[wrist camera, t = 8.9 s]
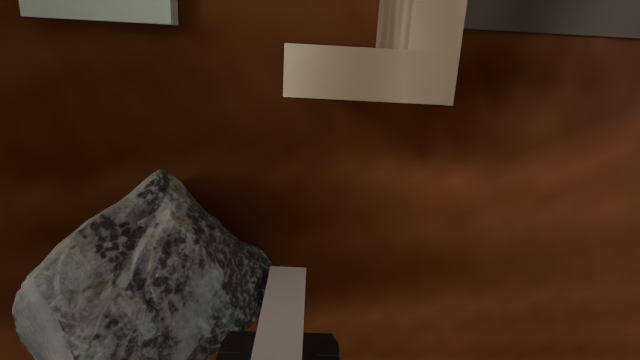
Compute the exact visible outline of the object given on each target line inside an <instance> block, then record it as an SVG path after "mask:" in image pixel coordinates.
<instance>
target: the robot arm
mask: <svg viewBox="0 0 640 360" xmlns="http://www.w3.org/2000/svg"><path fill="white" fill-rule="evenodd" d="M305 285H306V268H303V267H279V266H270V270H269V275H268V279H267V284H266V289H265V294H264V298H263V303H262V308H261V313H260V317H259V322H258V327H257V332H247V331H231V332H230V333H229V334H228V335H227V336H226V337H225V338H224V339H223V340H222V342H221V345H220V348H219V353H218V355H217V358H216V360H339V346H338V342H337V341H336V339H335V338H334V337H333V335H332V334H324V333H303V327H304V306H305Z"/></svg>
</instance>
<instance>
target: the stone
mask: <svg viewBox="0 0 640 360" xmlns="http://www.w3.org/2000/svg"><path fill="white" fill-rule="evenodd" d="M270 266H276V265H275V264H273V263H272V262H271V261H270V260H269V259H268V257H267V256H266V254H265V253H264V252H263V251H262V250H260V249H259V248H257V247H255V246H253V245H251V244H248V243H244V242H242V241H241V240H239V239H238V238H237V237H235V236H234V235H232V234H231V233H230V232H229V231H228V230H227V229H226V228H224V227H223V226H222V225H221V223H220V222H219V220H218V219H216V218H214V217H213V216H211V215H210V214H209V213H208V212H207V211H206V210H205V209H204V208H203V207H202V206H201V205H200V204H198V203H197V202H196V200H195V199H194V198H193V197H192V195H191V194H190V193H189V192H188V190H187V189H186V188H185V186H184V185H183V184H182V183H181V182H180V181H179V180H178V179H177V178H175V177H174V176H173V175H171V174H169V173H168V172H166V171H165V170H163V169H159V170H157V171H156V172H154V173H153V174H151V175H149V177H147V178H146V179H145V180H144V181H143V182H142V183H140V184H139V185H138V186H137V187H136V188H135V189H134V190H133V191H132V192H131V193H129V194H128V195H127V196H125V197H124V198H122V199H121V200H120V201H118V202H117V203H116V204H114V205H112V206H110V207H108V208H107V209H105V210H103V211H102V212H100V213H99V214H97V215H95V216H94V217H92V218H90V219H89V220H87V221H86V222H85V223H83V224H82V225H81V226H80V227H79V228H78V229H77V230H75V231H74V232H73V233H72V234H70V235H69V236H68V237H67V238H65V239H64V240H63V241H61V242H60V243H59V244H58V245H57V246H56V247H55V248H54V249H53V250H52V251H51V252H50V253H49V255H48V256H47V257H46V258H45V259H44V260H43V262H42V263H41V264H40V265H39V266H37V267H36V268H35V269H34V270H33V271H32V272H31V273H30V274H29V275H28V276H27V277H26V280H25V281H24V282H23V283H22V284H21V289H20V290H19V291H17V294H16V297H15V301H14V304H13V308H12V315H13V318H14V321H15V328H16V331H17V334H18V336H19V338H20V340H21V343H22V344H23V346H24V347H25V348H26V350H27V351H28V352H29V353H30V354H31V355H32V357H33V358H34V359H35V360H205V359H207V358H208V357H210V356H212V355H213V354H214V353H215V352H216V351H217V350H218V349H219V348H220V345H221V342H222V340H223V339H224V338H225V337H226V336H227V335H228V334H229V333H230V332H231V331H245V330H247V329H248V328H249V327H250V325H251V324H252V323H253V321H254V320H255V319H256V318H257V317H258V316H259V314H260V312H261V308H262V303H263V298H264V294H265V289H266V284H267V279H268V275H269V270H270Z"/></svg>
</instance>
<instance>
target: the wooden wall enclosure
mask: <svg viewBox="0 0 640 360" xmlns="http://www.w3.org/2000/svg"><path fill="white" fill-rule="evenodd" d="M463 29H476V30H494V31H512V32H530V33H548V34H566V35H584V36H602V37H619V38H637V39H640V0H380V3H379V14H378V26H377V38H376V48H367V47H349V46H330V45H312V44H293V43H284V76H283V97H296V98H316V99H335V100H355V101H374V102H394V103H413V104H433V105H452V106H453V101H454V94H455V87H456V80H457V73H458V65H459V58H460V51H461V44H462V36H463Z"/></svg>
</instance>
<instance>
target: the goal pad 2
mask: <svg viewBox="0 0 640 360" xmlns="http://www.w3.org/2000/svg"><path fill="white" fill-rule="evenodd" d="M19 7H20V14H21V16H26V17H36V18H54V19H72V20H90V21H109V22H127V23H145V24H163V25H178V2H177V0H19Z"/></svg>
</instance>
